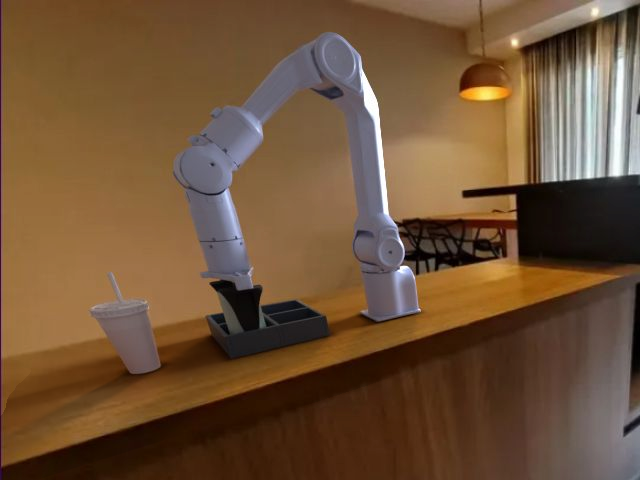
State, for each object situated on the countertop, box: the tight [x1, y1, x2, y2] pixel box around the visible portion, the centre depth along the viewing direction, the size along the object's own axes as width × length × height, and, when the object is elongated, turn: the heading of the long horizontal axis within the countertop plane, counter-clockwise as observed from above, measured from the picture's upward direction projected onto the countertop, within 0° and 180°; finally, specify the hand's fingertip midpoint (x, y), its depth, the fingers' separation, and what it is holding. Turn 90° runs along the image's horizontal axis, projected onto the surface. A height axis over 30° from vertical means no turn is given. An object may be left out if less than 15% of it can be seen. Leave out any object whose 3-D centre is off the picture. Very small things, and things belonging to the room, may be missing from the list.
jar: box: [216, 291, 266, 335], centre depth 70 cm, size 5×5×8 cm
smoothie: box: [88, 271, 162, 375], centre depth 62 cm, size 6×6×14 cm
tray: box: [205, 299, 331, 360], centre depth 76 cm, size 15×15×4 cm
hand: (247, 326), depth 71 cm, fingers closed on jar, 5 cm apart
